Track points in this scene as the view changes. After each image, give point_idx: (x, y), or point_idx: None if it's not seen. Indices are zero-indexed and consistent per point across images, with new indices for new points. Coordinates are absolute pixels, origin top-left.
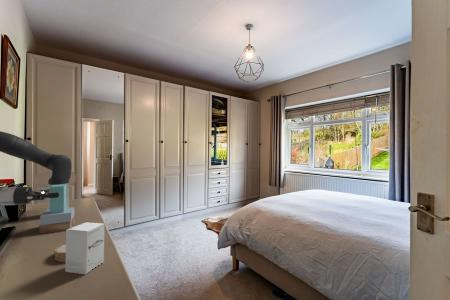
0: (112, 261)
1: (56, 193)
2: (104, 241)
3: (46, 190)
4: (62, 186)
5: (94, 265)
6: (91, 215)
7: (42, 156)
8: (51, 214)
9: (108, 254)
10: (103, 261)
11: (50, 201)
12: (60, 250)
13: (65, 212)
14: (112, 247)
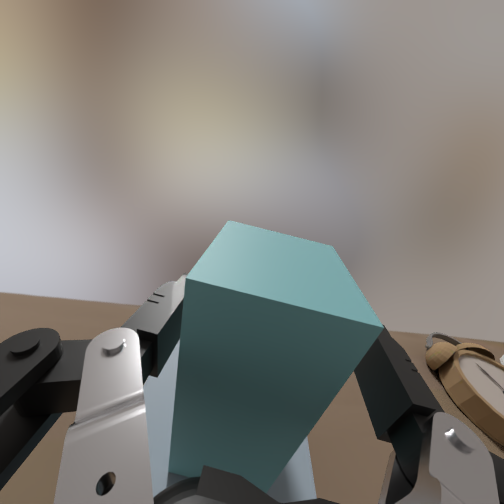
0: (486, 347)
1: (384, 336)
2: (445, 336)
3: (145, 460)
4: (334, 254)
5: None
6: (116, 320)
7: None
8: (303, 478)
9: None
10: (502, 358)
11: (298, 445)
12: None
13: None
14: (426, 334)
